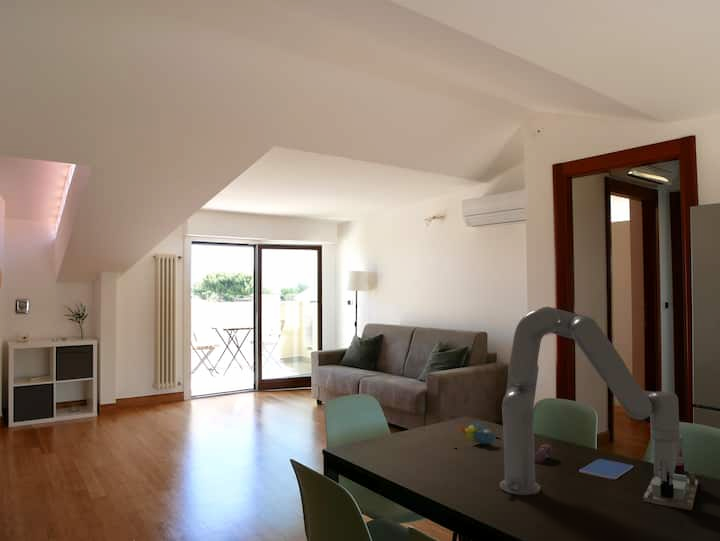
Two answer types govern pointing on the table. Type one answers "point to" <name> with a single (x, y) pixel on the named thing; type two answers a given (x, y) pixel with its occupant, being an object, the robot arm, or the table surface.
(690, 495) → the base board
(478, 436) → the owl figurine
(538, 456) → the video game controller
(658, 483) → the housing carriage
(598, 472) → the tablet computer
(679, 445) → the beverage can
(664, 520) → the table surface
